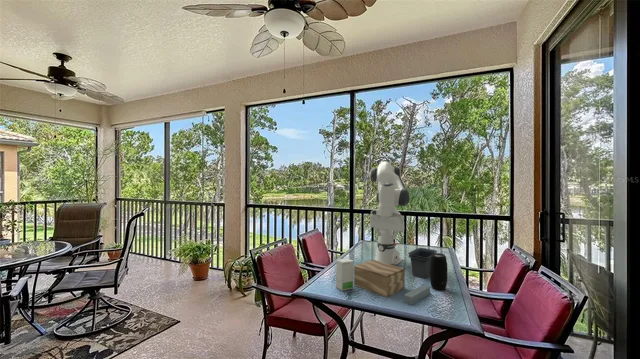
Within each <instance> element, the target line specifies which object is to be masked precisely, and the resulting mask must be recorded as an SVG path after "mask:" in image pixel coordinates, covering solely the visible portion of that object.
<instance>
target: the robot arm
mask: <svg viewBox="0 0 640 359" xmlns="http://www.w3.org/2000/svg"><path fill="white" fill-rule="evenodd" d="M400 169H401V168H399V166H393V165H392V164H391V163H390V162H389V161H382V162H380V163H379V164H378V166H377V167H372V168H371V169H370V171H369V174H368V176H369V179H370V181H371V182H372V183H377V191H376V192H375V193H376V194H375V195H376V202H377V204H378V208H375V209H373V210H371V211H370V217H369V226H370V228H375V232H376V235H377V244H376V245H377V246H376V247H377V248H376V250H375V252H376V253H375V257H374V260H376V261H379V262H383V263H387V264H390V265H394V266H397V265H399V264H400V263H401V262H402V261H404V258H402V257H401V254H400V251H399V250H398V249H396V247H395V246H397V243H396V242H394V240H396V239H397V235H398V233H402V232H404V231H405V222H404V220H405V217H404V216H403V215H402V213H400V211H398V209H397V207H396V206H398V207H405V206H407V205H408V204H409V203H410V200H411V196H410V195H411V194H410V192H409V190H408V189H407V188H406V186H405V184H404V181H403V180H402V170H400Z"/></svg>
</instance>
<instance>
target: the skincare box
mask: <svg viewBox="0 0 640 359" xmlns="http://www.w3.org/2000/svg"><path fill="white" fill-rule="evenodd" d="M335 262H336V264H335V265H336V267H335V269H336V271H335V272H336V273H335V287H336V289H338V290H340V291H347V290H352V289H353V290H354V266H355V265H354V264H355V263H354V262H355V261H354V260H352V259H350V258H341V259H336V261H335Z"/></svg>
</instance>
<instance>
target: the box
mask: <svg viewBox="0 0 640 359" xmlns="http://www.w3.org/2000/svg"><path fill="white" fill-rule="evenodd" d="M405 270H406V269H405ZM405 270H404V271H402V272H399V273H397V274H395V275H393V276H390V277H388V278H385V277H382V276H379V275H376V274H373V273H370V272H366V271H363V270H360V269H357V268H354V279H353V286H355V287H359V288H361V289H363V290H366V291H369V292H371V293H374V294H377V295H380V296H382V297H384V298H388V297H391V296H392V295H394V294H396V293H397V292H400V291H402V290H403V289H405V287H406V285H405V281H406V280H405V279H406V278H405V276H406V272H405Z"/></svg>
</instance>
